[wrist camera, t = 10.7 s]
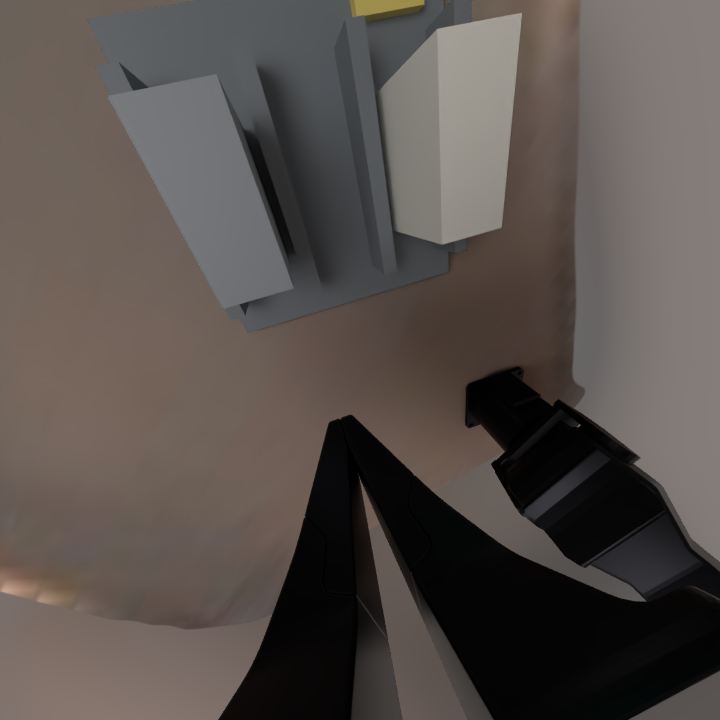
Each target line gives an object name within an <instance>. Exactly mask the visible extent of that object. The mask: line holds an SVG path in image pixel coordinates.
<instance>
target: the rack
mask: <svg viewBox="0 0 720 720" xmlns="http://www.w3.org/2000/svg"><path fill="white" fill-rule="evenodd" d="M471 12H472V0H452V1H451V2H450V3H449V4H448V5H447V6H446V7H445V9H444V0H197V1H191V2H185V3H179V4H173V5H168V6H162V7H156V8H150V9H144V10H138V11H133V12H127V13H121V14H115V15H109V16H104V17H98V18H92V19H86V20H87V22H88V24H89V25H90V27H91V29H92V31H93V33H94V35H95V37H96V39H97V41H98V43H99V45H100V47H101V49H102V51H103V53H104V55H105V57H106V59H107V60H108V62H109V64H104V65H98V66H95V68H96V70H97V72H98V73H99V75H100V77H101V79H102V81H103V83H104V85H105V86H106V88H107V90H108V92H109V94H110V96H108V98H109V100H110V102H111V104H112V106H113V107H114V109H115V111H116V113H117V115H118V117H119V118H120V120H121V122H122V124H123V126H124V128H125V130H126V131H127V133H128V135H129V137H130V139H131V141H132V142H133V144H134V146H135V148H136V150H137V152H138V153H139V155H140V157H141V159H142V161H143V163H144V165H145V166H146V168H147V170H148V172H149V174H150V176H151V177H152V179H153V181H154V183H155V185H156V187H157V188H158V190H159V192H160V194H161V196H162V198H163V200H164V201H165V203H166V205H167V207H168V209H169V211H170V212H171V214H172V216H173V218H174V220H175V222H176V223H177V225H178V227H179V229H180V231H181V233H182V235H183V236H184V238H185V240H186V242H187V244H188V246H189V247H190V249H191V251H192V253H193V255H194V257H195V258H196V260H197V262H198V264H199V266H200V268H201V270H202V271H203V273H204V275H205V277H206V279H207V281H208V282H209V284H210V286H211V288H212V290H213V292H214V294H215V295H216V297H217V299H218V301H219V303H220V305H221V306H222V308H223V309H225V310H226V312H227V313H228V315H229V317H230V319H231V320H234V319H237V318H240V319H241V321H242V323H243V325H244V327H245V329H246V331H247V333H250V332H253V331H256V330H260V329H263V328H266V327H269V326H273V325H276V324H279V323H283V322H286V321H289V320H292V319H296V318H299V317H302V316H306V315H309V314H312V313H315V312H319V311H322V310H325V309H329V308H332V307H335V306H338V305H342V304H345V303H348V302H352V301H355V300H358V299H361V298H365V297H368V296H371V295H375V294H378V293H381V292H384V291H388V290H391V289H394V288H398V287H401V286H404V285H407V284H411V283H414V282H417V281H421V280H424V279H427V278H430V277H434V276H437V275H440V274H444V273H447V272H449V264H448V252H451V253H454V254H456V253H459V252H462V251H466V250H467V238H464V239H460V240H457V241H453V242H450V243H446V244H443V245H441V244H438V243H435V242H431V241H428V240H424V239H421V238H417V237H414V236H411V235H407V234H404V233H400V232H397V231H394V230H392V226H391V218H390V210H389V202H388V194H387V187H386V179H385V171H384V163H383V155H382V147H381V139H380V131H379V123H378V116H377V108H376V100H375V94H376V93H377V92H378V91H379V90H380V89H381V88H382V87H383V85H384V84H385V83H386V82H387V81H388V80H389V79H390V78H391V77H392V76H393V75H394V74H395V73H396V72H397V71H398V70H399V69H400V68H401V66H402V65H403V64H404V63H405V62H406V61H407V60H408V59H409V58H410V57H411V56H412V55H413V54H414V53H415V52H416V51H417V50H418V49H419V48H420V46H421V45H422V44H423V43H424V42H425V41H426V40H427V39H428V38H429V37H430V36H431V35H432V34H433V33H434V32H435V31H436V30H437V29H439V28H444V27H449V26H455V25H460V24H465V23H471Z"/></svg>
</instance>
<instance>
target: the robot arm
mask: <svg viewBox="0 0 720 720" xmlns="http://www.w3.org/2000/svg"><path fill="white" fill-rule="evenodd" d="M523 373H524V370H523V369H522V368H520V367H517V368H514V369H511V370H508V371H506V372H503V373H500V374H497V375H494V376H491V377H489V378H486V379H483V380H480V381H477V382H475V383H472V384H469V385H468V386H467V388H466V416H465V425H466V426H467V427H468V428H472V427H475V426H477V425H480V424H481V425H482V426H483V427H484V429H485V430H486V431H487V432H488V433H489V434H490V435H491V436H492V438H493V439H494V440H495V441H496V442H497V443H498V444H499V445H500V447H501V448H502V449H503V450H504V451H505V452H504V453H503V454H502V455H501V456H500V458H498V459H497V460H495V461H494V462H492V464H491V465H492V467H493V469H494V470H495V473H496V475H497V476H498V478H499V480H500V482H501V483H502V485H503V487H504V488H505V490H506V492H507V494H508V495H509V497H510V499H511V501H512V502H513V504H514V506H515V507H516V509H517V510H518V511H519V513H520V514H521V515H522V516H524V517H526V518H527V519H529V520H530V521H531V522H532V523H534V524H535V525H536V526H537V527H539V528H541V529H543V530H544V531H545V532H546V533H547V535H548V536H549V537H550V538H551V539H552V540H553V542H554V543H555V544H556V546H557V547H558V548H559V549H560V551H561V552H562V553H563V554H564V556H566V557H567V558H568V559H570V560H572V561H573V562H575V563H576V564H578V565H579V566H581V567H584V568H586V567H588V566H589V565H592V566H594V567H596V568H598V569H600V570H602V571H604V572H606V573H608V574H609V575H611V576H613V577H616V578H617V579H619V580H621V581H623V582H625V583H627V584H629V585H630V586H632V587H633V588H634V589H635V590H636V591H637V592H638V593H639V594H640V595H641V596H642V597H643V598H644V599H645V600H646V601H647V602H639V601H638V602H637V601H631V600H626V599H621V598H618V597H615V596H613V595H610V594H607V593H605V592H602V591H600V590H598V589H596V588H593V587H591V586H589V585H586V584H584V583H582V582H580V581H577V580H575V579H573V578H570V577H568V576H566V575H563V574H561V573H559V572H556V571H554V570H552V569H549V568H547V567H545V566H542V565H540V564H538V563H536V562H533V561H531V560H529V559H527V558H524V557H522V556H520V555H518V554H516V553H514V552H513V551H511V550H509V549H508V548H506V547H505V546H503V545H502V544H500V543H498V542H497V541H496V540H494V539H493V538H492V537H490V536H489V535H487V534H486V533H485V532H484V531H482V530H481V529H480V528H478V527H477V526H476V525H474V524H473V523H472V522H470V521H469V520H468V519H466V518H465V517H464V516H462V515H461V514H460V513H459V512H457V511H456V510H454V509H453V508H452V507H451V506H449V505H448V504H447V503H446V502H444V501H443V500H442V499H441V498H439V497H438V496H437V495H436V494H435V493H434V492H432V491H431V490H430V489H429V488H428V487H427V486H426V485H425V484H424V483H423V482H421V481H420V480H419V479H418V478H417V477H416V476H414V474H413V473H412V472H411V471H410V470H409V469H408V468H407V467H406V466H405V465H404V464H403V463H402V462H401V461H399V460H398V459H397V458H396V457H395V456H394V455H393V454H392V453H391V452H390V451H389V450H388V449H387V448H386V447H385V446H384V445H383V444H382V443H381V442H380V441H379V440H378V439H377V438H376V437H375V436H373V435H372V434H371V433H370V432H369V431H368V430H367V429H366V428H365V427H364V426H363V425H362V424H361V423H360V422H359V421H358V420H357V419H356V418H355V417H354V416H353V415H348V416H345V417H342V418H341V420H340V419H336V420H333V421H331V422H329V424H328V428H327V431H326V435H325V439H324V443H323V447H322V451H321V455H320V459H319V462H318V466H317V470H316V474H315V478H314V482H313V486H312V490H311V494H310V497H309V501H308V505H307V509H306V513H305V517H306V518H304V520H303V524H302V528H301V532H300V535H299V539H298V542H297V546H296V549H295V553H294V556H293V558H292V561H291V564H290V567H289V570H288V573H287V576H286V579H285V581H284V584H283V587H282V590H281V592H280V595H279V598H278V601H277V603H276V606H275V609H274V611H273V614H272V617H271V620H270V622H269V626H268V628H267V631H266V633H265V636H264V639H263V641H262V644H261V646H260V649H259V651H258V653H257V655H256V657H255V660H254V661H253V664H252V666H251V667H250V669H249V671H248V673H247V675H246V677H245V678H244V680H243V681H242V683H241V685H240V686H239V688H238V689H237V691H236V693H235V694H234V696H233V697H232V699H231V700H230V702H229V704H228V705H227V707H226V709H225V710H224V711H223V713H222V715H221V716H220V718H219V719H218V720H402V714H401V709H400V703H399V698H398V692H397V686H396V681H395V675H394V669H393V664H392V658H391V652H390V647H389V643H388V636H387V630H386V625H385V619H384V614H383V608H382V603H381V596H380V592H379V585H378V580H377V574H376V568H375V563H374V558H373V551H372V546H371V540H370V534H369V529H368V523H367V518H366V512H365V506H364V501H363V495H362V489H361V484H360V480H361V482H362V484H363V487H364V489H365V491H366V493H367V496H368V498H369V500H370V502H371V505H372V507H373V509H374V511H375V514H376V516H377V518H378V520H379V523H380V525H381V527H382V529H383V531H384V534H385V536H386V538H387V540H388V543H389V545H390V547H391V549H392V552H393V554H394V556H395V558H396V561H397V563H398V565H399V567H400V570H401V571H402V574H403V576H404V578H405V581H406V583H407V585H408V587H409V590H410V592H411V594H412V596H413V599H414V601H415V603H416V605H417V608H418V610H419V612H420V614H421V616H422V619H423V621H424V623H425V625H426V628H427V630H428V632H429V634H430V637H431V639H432V641H433V643H434V646H435V648H436V650H437V652H438V654H439V657H440V659H441V661H442V664H443V666H444V668H445V670H446V672H447V675H448V677H449V679H450V681H451V684H452V686H453V688H454V690H455V693H456V695H457V697H458V699H459V702H460V703H461V706H462V708H463V711H464V712H465V715H466V717H467V719H468V720H720V562H719V561H718V560H716V559H715V558H714V557H713V556H711V555H710V554H709V553H708V552H707V551H705V550H704V549H703V548H702V547H700V546H699V545H698V544H697V543H696V542H694V541H693V540H692V539H691V537H690V536H689V534H688V532H687V530H686V528H685V526H684V525H683V523H682V521H681V519H680V517H679V515H678V514H677V512H676V510H675V508H674V506H673V504H672V503H671V501H670V499H669V497H668V495H667V493H666V492H665V490H664V488H663V487H662V485H661V484H660V483H658V482H657V481H656V480H655V479H653V478H652V477H651V476H649V475H648V474H646V473H645V472H644V471H642V470H641V469H640V468H639V467H637V466H636V465H634V463H635V462H636V461H638V460H639V459H640V457H639V456H638V455H637V454H635V453H634V452H633V451H631V450H630V449H629V448H628V447H626V446H625V445H624V444H623V443H621V442H620V441H619V440H617V439H616V438H615V437H614V436H612V435H611V434H610V433H608V432H607V431H606V430H605V429H603V428H602V427H600V426H599V425H598V424H596V423H595V422H593V421H592V420H590V419H589V418H588V417H586V416H585V415H583V414H582V413H580V412H578V411H577V410H575V409H574V408H572V407H571V406H569V405H567V404H566V403H564V402H562V401H561V400H559V399H558V400H557V401H556V402H555V403H554V405H553V406H551V405H550V404H548V403H547V402H546V401H544V400H543V399H542V398H541V395H540V394H538V393H537V392H536V391H534V390H533V389H532V388H530V387H529V386H528V385H526V384H525V383H524V382H522V378H523ZM579 424H580V425H581V426H580V427H577V426H578V425H579ZM358 474H359V475H358ZM359 477H360V479H359Z"/></svg>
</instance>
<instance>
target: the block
mask: <svg viewBox="0 0 720 720" xmlns="http://www.w3.org/2000/svg"><path fill="white" fill-rule="evenodd" d="M521 18H522V13H519V14H513V15H508V16H503V17H497V18H492V19H487V20H481V21H476V22H471V23H465V24H460V25H455V26H449V27H444V28H439V29H437V30H436V31H435V32H434V33H433V34H432V35H431V36H430V37H429V38H428V39H427V40H426V41H425V42H424V43H423V44H422V45H421V46H420V48H419V49H418V50H417V51H416V52H415V53H414V54H413V55H412V56H411V57H410V58H409V59H408V60H407V61H406V62H405V63H404V64H403V65H402V66H401V68H400V69H399V70H398V71H397V72H396V73H395V74H394V75H393V76H392V77H391V78H390V79H389V80H388V81H387V82H386V83H385V84H384V85H383V87H382V88H381V89H380V90H379V91H378V92H377V93H376V94H375V100H376V108H377V116H378V123H379V131H380V139H381V147H382V155H383V163H384V171H385V179H386V187H387V194H388V202H389V210H390V218H391V226H392V230H394V231H397V232H400V233H404V234H407V235H411V236H414V237H417V238H421V239H424V240H428V241H431V242H435V243H438V244H441V245H443V244H446V243H450V242H453V241H457V240H460V239H464V238H468V237H471V236H475V235H478V234H482V233H485V232H489V231H492V230H496V229H499V228H502V219H503V208H504V198H505V187H506V177H507V166H508V156H509V145H510V134H511V124H512V113H513V103H514V92H515V82H516V71H517V60H518V50H519V39H520V29H521Z"/></svg>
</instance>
